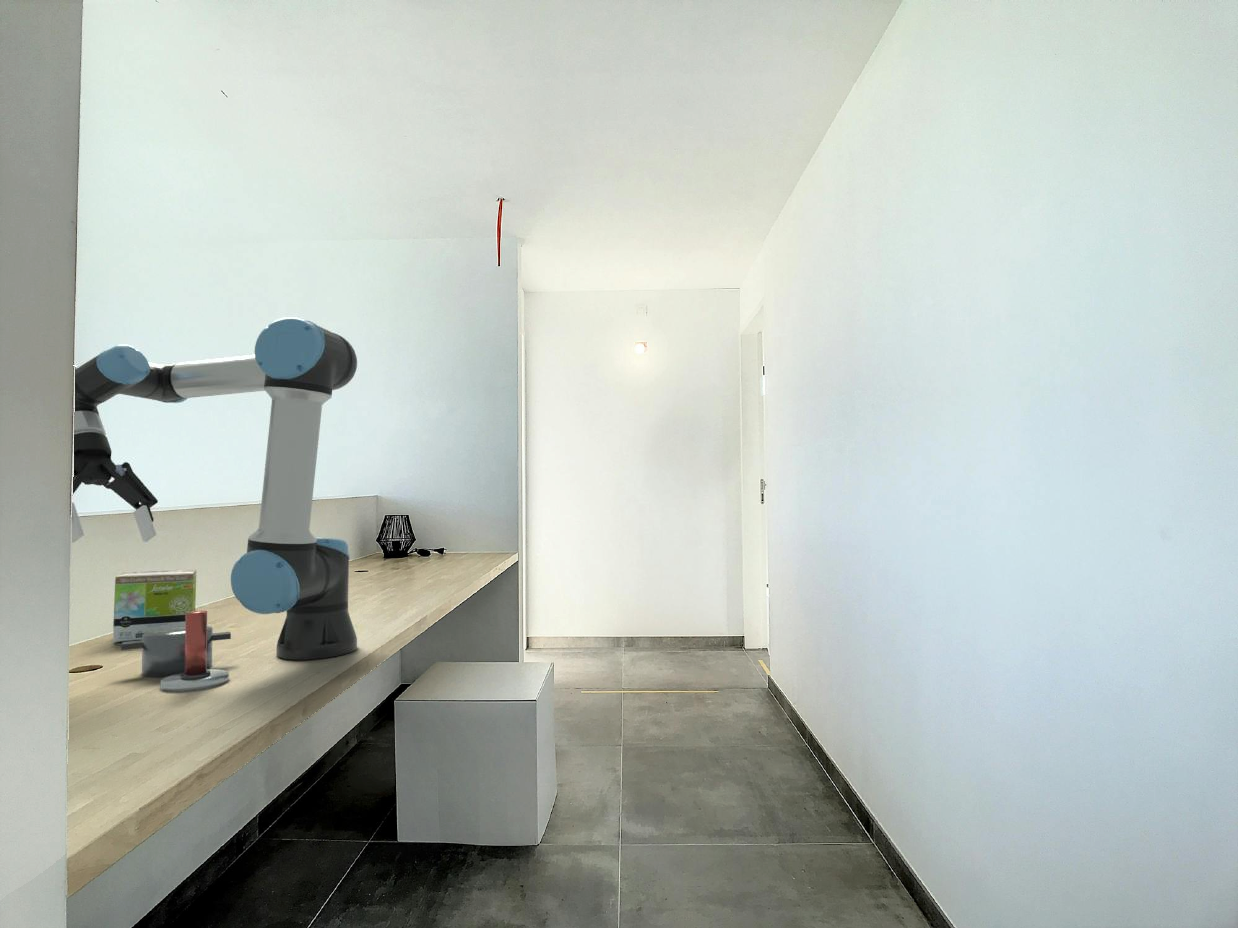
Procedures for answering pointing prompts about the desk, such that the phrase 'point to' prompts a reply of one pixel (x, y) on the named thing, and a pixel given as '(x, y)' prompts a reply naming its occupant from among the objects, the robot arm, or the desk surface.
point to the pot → (168, 650)
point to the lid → (195, 659)
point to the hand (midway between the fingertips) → (115, 538)
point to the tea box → (151, 601)
